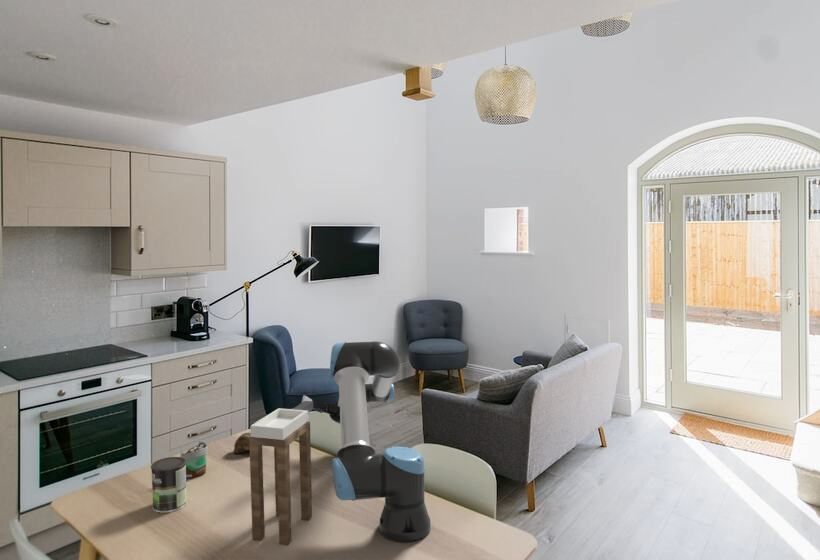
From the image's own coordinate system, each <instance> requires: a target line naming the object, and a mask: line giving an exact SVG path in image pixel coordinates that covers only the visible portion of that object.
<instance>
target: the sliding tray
mask: <svg viewBox="0 0 820 560" xmlns="http://www.w3.org/2000/svg"><path fill="white" fill-rule="evenodd" d="M313 401H314V400H312V401H304V402H302V401H301V403H299V404H298V405H296V406H295V407H294V408H291V409H290V408H282V407H281V408H280V407H279V408H277V409H275V410H274V411H271V413H269V414H266V416H264V417H262V418H261V419H259V420H257V421H256V422H254V423H253V424H251V425H250V433H251V437H257V438H268V439H278V440H284V439H285V438H286V437H288V436H289V435H290V434H292V433H293V432H294V431H296V430H297V429H298V428H300V427H301V426H302V425H304V424H305V423H306V422H310V421H309V413H310V412H312V411H314V410H313Z"/></svg>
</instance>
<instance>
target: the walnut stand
mask: <svg viewBox="0 0 820 560" xmlns="http://www.w3.org/2000/svg"><path fill="white" fill-rule="evenodd" d="M296 440H298V441H299V445H298V447H299V451H298V452H299V482H300V486H299V488H300V491H299V492H300V521H305V522H306V521H307V522H309V521H310V520H311V519H312V518H313V500H312V499H313V497H312V496H313V495H312V494H313V493H312V492H313V491H312V490H313V488H312V457H311V456H312V455H311V454H312V452H311V451H312V450H311V449H312V448H311V421H308V422H306V423H305V424H304V425H302V426H301V427H300V428H298V429H297V430H296V431H294V432H293V433H292V434H290V435H289V436H288V437H286V438H285V439H284V440H278V439H268V438H257V437H249V446H250V450H249V470H250V471H249V473H250V474H249V475H250V503H251V505H250V506H251V535H252V541H255V542H256V541H257V542H261V541H262V540H263V539H264V538H265V537H266V535H265V534H266V528H265V495H264V490H265V489H264V462H263V461H264V460H263V457H264V456H263V447H271V448H273V454H274V455H273V457H274V460H273V461H274V488H275V491H274V492H275V493H274V494H275V496H274V497H275V517H277V518H278V534H279V535H278V539H279V540H278V541H279V543H278V544H279V545H283V546H289V545H290V543H291V542H292V541H293V538H292V537H293V535H292V506H291V505H292V501H291V499H292V497H291V495H292V494H291V461H290V460H291V459H290V445H291V444H292V443H293V442H295V441H296Z"/></svg>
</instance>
